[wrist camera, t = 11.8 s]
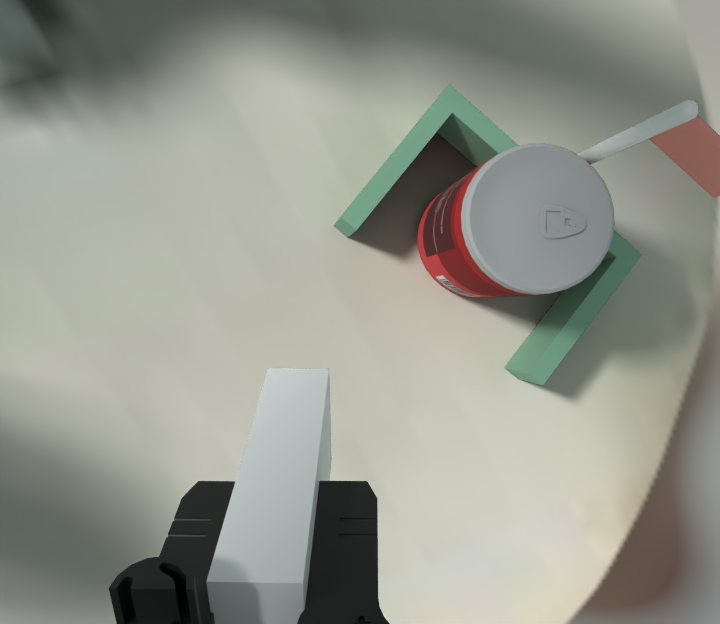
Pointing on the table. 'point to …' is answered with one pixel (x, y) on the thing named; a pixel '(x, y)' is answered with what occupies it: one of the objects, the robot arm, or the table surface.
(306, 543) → the robot arm
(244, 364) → the table surface
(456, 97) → the green c-shaped bracket
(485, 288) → the canned food
